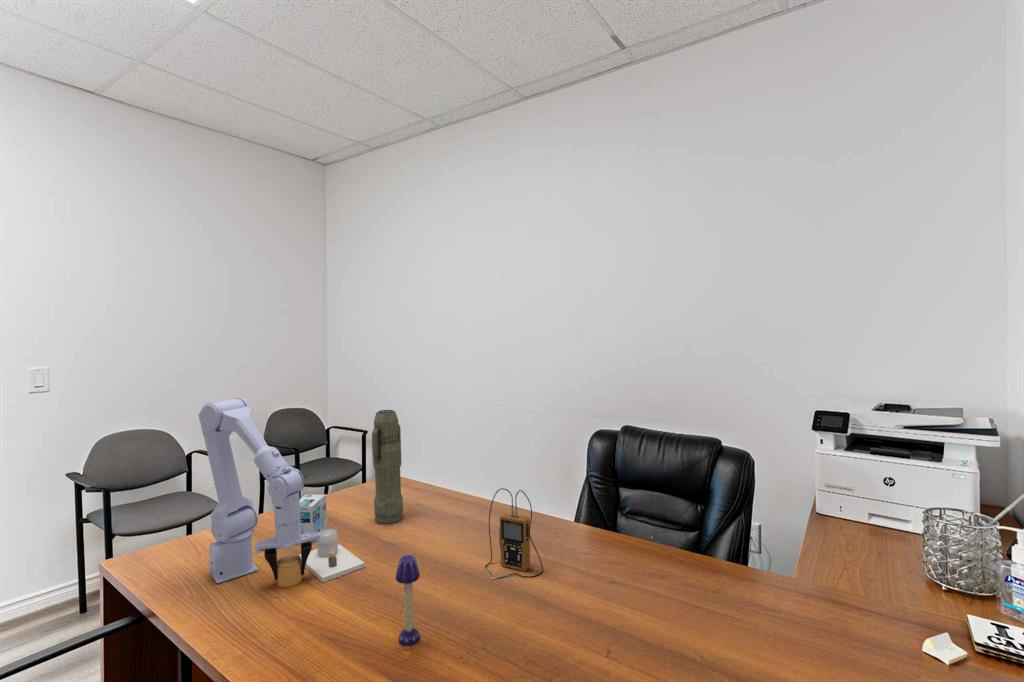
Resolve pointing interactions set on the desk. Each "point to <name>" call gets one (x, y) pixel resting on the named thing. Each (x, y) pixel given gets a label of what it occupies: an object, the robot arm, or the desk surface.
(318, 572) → the plate
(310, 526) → the light bulb box
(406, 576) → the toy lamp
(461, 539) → the desk surface
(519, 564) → the multimeter
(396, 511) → the thermos
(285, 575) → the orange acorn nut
